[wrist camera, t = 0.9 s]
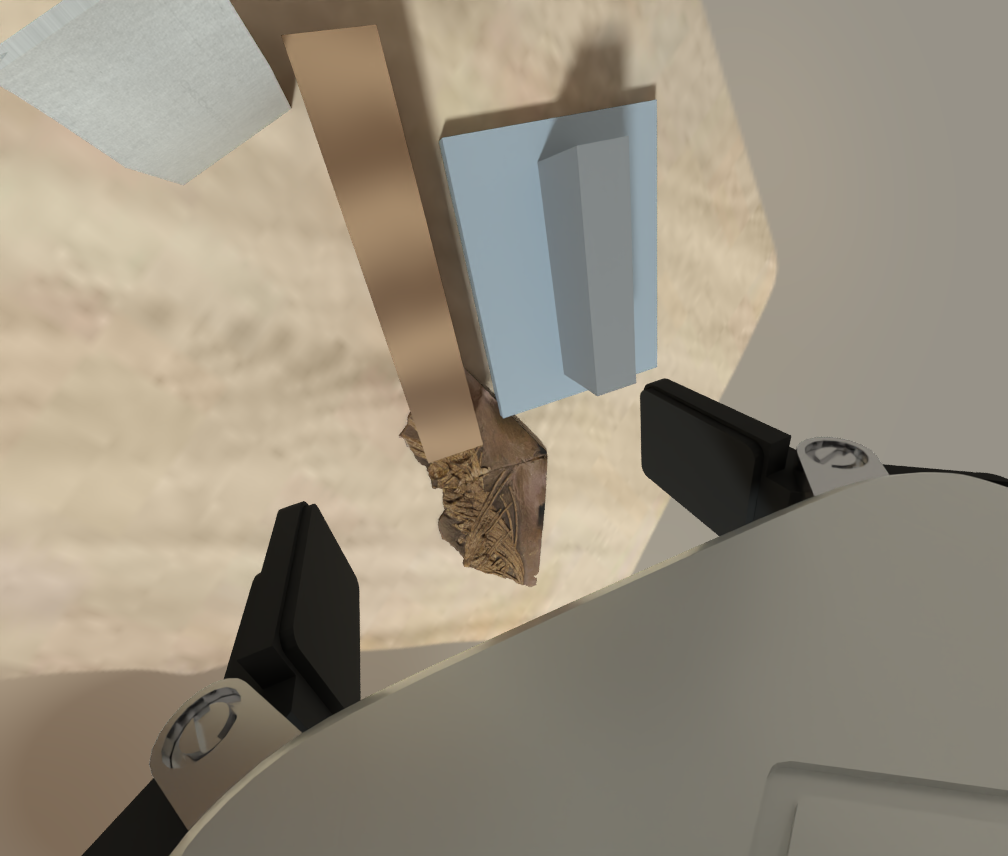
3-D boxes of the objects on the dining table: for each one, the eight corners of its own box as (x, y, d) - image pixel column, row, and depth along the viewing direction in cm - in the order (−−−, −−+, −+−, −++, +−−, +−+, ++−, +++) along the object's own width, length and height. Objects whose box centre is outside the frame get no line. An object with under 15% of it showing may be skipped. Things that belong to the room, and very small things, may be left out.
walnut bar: (294, 70, 20) (281, 34, 16) (373, 59, 21) (376, 24, 17) (420, 438, 30) (428, 463, 27) (469, 422, 31) (483, 444, 28)
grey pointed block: (291, 109, 20) (244, 14, 12) (183, 185, 20) (56, 146, 12) (229, 20, 18) (119, -169, 10) (110, 104, 18) (-108, -14, 10)
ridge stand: (438, 141, 23) (462, 113, 18) (646, 104, 26) (719, 70, 20) (499, 413, 31) (527, 447, 26) (649, 363, 34) (700, 385, 29)
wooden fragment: (379, 387, 28) (380, 392, 27) (520, 339, 30) (525, 342, 29) (473, 610, 41) (476, 618, 40) (568, 566, 43) (572, 573, 42)
